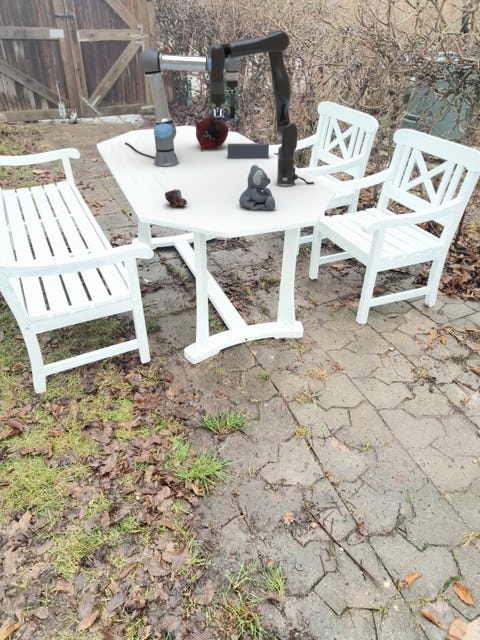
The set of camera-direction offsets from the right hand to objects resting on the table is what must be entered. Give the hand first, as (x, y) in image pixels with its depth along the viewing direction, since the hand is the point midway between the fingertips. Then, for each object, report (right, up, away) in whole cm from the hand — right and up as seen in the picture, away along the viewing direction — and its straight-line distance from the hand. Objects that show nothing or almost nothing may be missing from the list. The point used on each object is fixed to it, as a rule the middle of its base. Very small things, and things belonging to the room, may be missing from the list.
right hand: (218, 127), depth 228 cm
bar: (+17, +13, +77) cm, 80 cm away
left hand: (+6, +34, +63) cm, 72 cm away
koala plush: (+19, -40, +1) cm, 44 cm away
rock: (-22, -39, +2) cm, 45 cm away
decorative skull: (-9, +29, +101) cm, 105 cm away
